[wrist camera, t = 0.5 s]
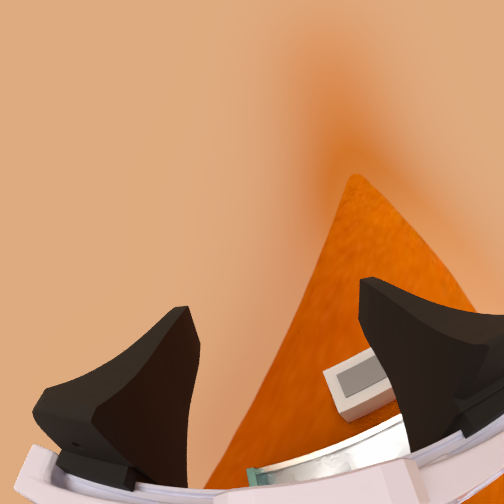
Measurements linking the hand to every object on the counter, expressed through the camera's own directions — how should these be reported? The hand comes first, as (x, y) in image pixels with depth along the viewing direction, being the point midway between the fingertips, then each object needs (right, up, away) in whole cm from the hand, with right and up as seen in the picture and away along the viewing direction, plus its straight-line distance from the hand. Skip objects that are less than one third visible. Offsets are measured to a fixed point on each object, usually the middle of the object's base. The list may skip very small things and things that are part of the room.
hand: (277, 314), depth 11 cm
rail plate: (+8, -18, +6) cm, 21 cm away
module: (+11, -11, +12) cm, 20 cm away
